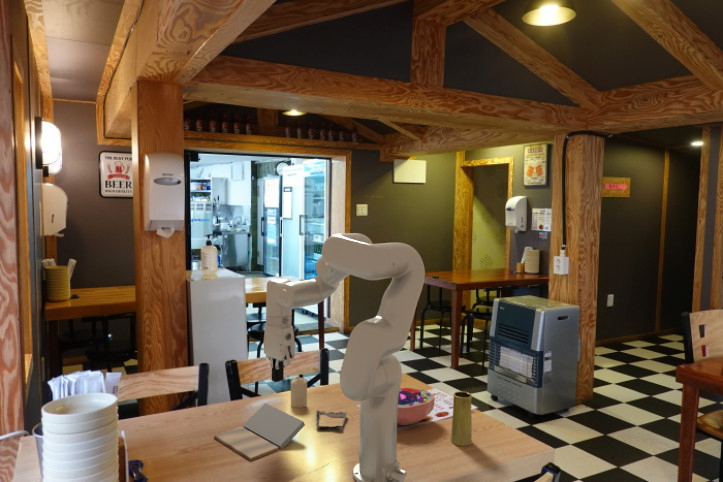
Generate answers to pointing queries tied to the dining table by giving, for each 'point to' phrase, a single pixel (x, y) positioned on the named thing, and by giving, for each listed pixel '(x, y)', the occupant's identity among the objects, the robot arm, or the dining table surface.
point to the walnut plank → (246, 443)
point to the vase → (462, 419)
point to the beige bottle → (299, 392)
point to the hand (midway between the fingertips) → (277, 380)
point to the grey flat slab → (274, 425)
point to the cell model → (413, 405)
